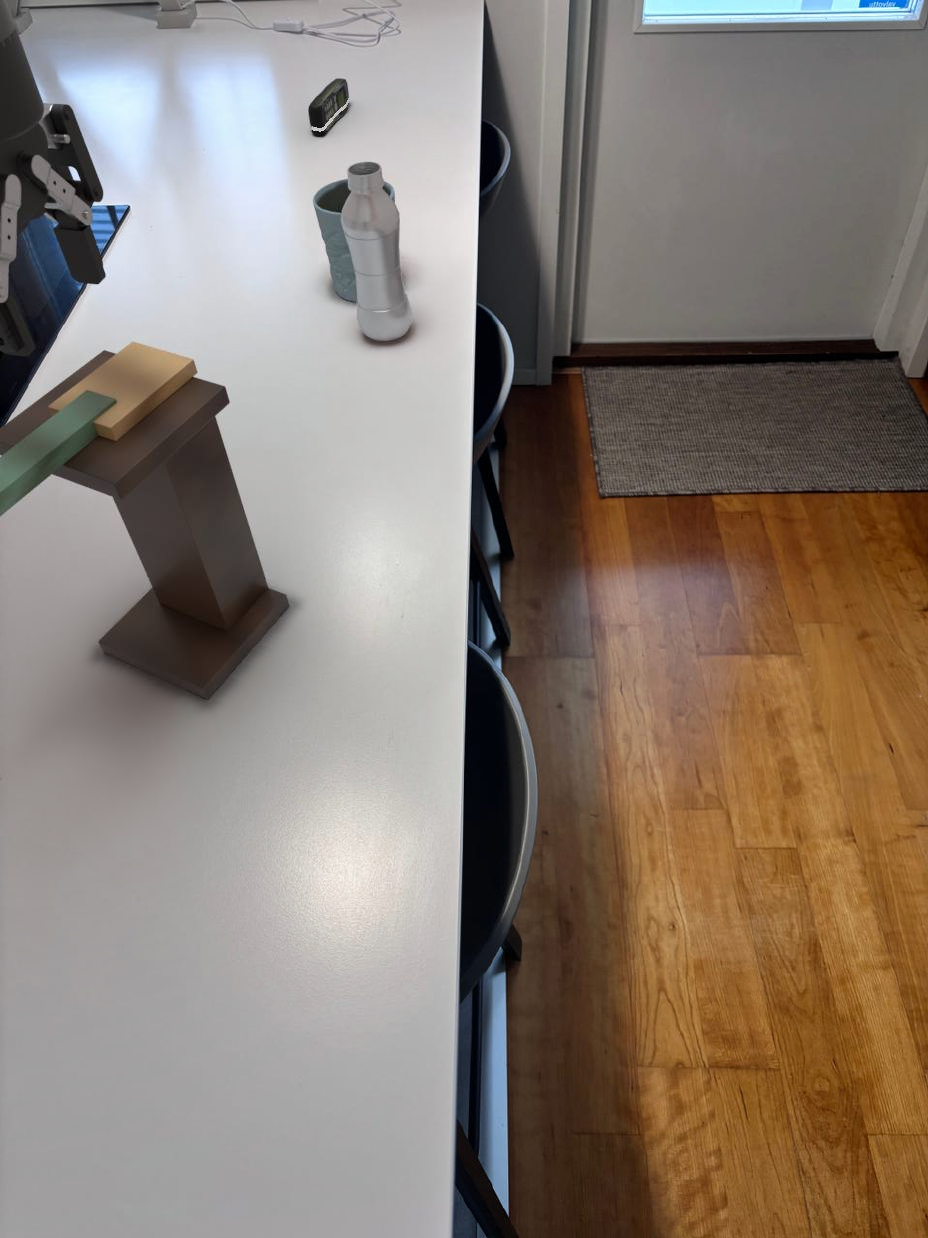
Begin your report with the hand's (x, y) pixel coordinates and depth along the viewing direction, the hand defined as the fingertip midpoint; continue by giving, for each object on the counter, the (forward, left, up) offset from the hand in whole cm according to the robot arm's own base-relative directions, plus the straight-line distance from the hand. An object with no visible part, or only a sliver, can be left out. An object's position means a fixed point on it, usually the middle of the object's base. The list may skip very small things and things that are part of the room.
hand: (56, 315), depth 61 cm
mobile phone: (+5, +117, -33) cm, 121 cm away
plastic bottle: (+16, +49, -33) cm, 61 cm away
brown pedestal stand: (0, +2, -33) cm, 33 cm away
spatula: (-2, -2, -9) cm, 9 cm away
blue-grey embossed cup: (+13, +61, -33) cm, 70 cm away
